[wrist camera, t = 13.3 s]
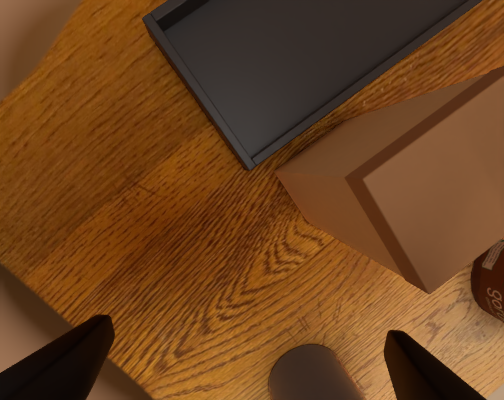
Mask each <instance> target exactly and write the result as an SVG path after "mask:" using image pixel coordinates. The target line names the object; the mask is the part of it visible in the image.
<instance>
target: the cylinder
mask: <svg viewBox="0 0 504 400" xmlns="http://www.w3.org/2000/svg"><path fill="white" fill-rule="evenodd" d="M268 390H269V395H270V399H271V400H366V398H365V397H364V395H363V394H362V392H361V391H360V389H359V388H358V386H357V385H356V383H355V382H354V380H353V379H352V377H351V376H350V374H349V373H348V371H347V370H346V368H345V367H344V365H343V364H342V362H341V361H340V359H339V358H338V356H337V355H336V354H335V353H334V352H333V351H331V350H330V349H328V348H326V347H324V346H321V345H315V344H310V345H303V346H299V347H297V348H294V349H292V350H290V351H289V352H287V353H286V354H285V355H283V356H282V357H281V358H280V359H279V360H278V362H277V363H276V364H275V366H274V368H273V369H272V372H271V374H270V377H269V383H268Z"/></svg>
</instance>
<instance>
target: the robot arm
mask: <svg viewBox="0 0 504 400" xmlns="http://www.w3.org/2000/svg"><path fill="white" fill-rule="evenodd" d="M114 338H115V332H114V328H113V323H112V319H111V317H110V316H109V315H100V314H99V315H95V316H94V317H92V318H90V319H89V320H87V321H85V322H84V323H82V324H80V325H79V326H77V327H75V328H74V329H72V330H71V331H69V332H67V333H66V334H64V335H62V336H61V337H59V338H57V339H56V340H54V341H52V342H51V343H49V344H47V345H46V346H44V347H42V348H41V349H39V350H38V351H36V352H34V353H32V354H31V355H29V356H27V357H26V358H24V359H23V360H21V361H19V362H18V363H16V364H14V365H12V366H11V367H9V368H8V369H6V370H4V371H3V372H1V373H0V400H86V398H87V396H88V395H89V393H90V391H91V389H92V387H93V385H94V383H95V381H96V378H97V376H98V374H99V372H100V370H101V367H102V365H103V363H104V361H105V359H106V357H107V355H108V352H109V350H110V348H111V346H112V344H113V341H114ZM384 358H385V361H386V364H387V368H388V371H389V374H390V378H391V381H392V384H393V388H394V391H395V394H396V398H397V400H486V399H485V398H484V397H483V396H482V395H480V394H479V393H478V392H477V391H476V390H474V389H473V388H472V387H471V386H470V385H468V384H467V383H466V382H465V381H463V380H462V379H461V378H460V377H459V376H457V375H456V374H455V373H454V372H453V371H451V370H450V369H449V368H448V367H446V366H445V365H444V364H443V363H442V362H440V361H439V360H438V359H437V358H436V357H434V356H433V355H432V354H431V353H430V352H428V351H427V350H426V349H425V348H423V347H422V346H421V345H420V344H419V343H417V342H416V341H415V340H414V339H413V338H411V337H410V336H409V335H408V334H407V333H405V332H404V331H400V330H389V331H388V333H387V337H386V342H385V346H384Z"/></svg>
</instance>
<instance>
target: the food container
mask: <svg viewBox="0 0 504 400" xmlns="http://www.w3.org/2000/svg"><path fill="white" fill-rule="evenodd" d="M471 286H472V293H473V295H474V298H475V301H476V302H477V304H478V305H479V306H480V307H481V308H482V309H483V310H484V311H486V312H488V313H489V314H491V315H492V316H494V317H496V318H497V319H499V320H501V321H502V322H504V240H502V239H501V240H499V241H498V242H497V243H495V244H494V245H493V246H492V247H490V248H489V249H488V250H486V251H485V252H484V253H483V254H481V255H480V256H479V257H477V258H476V260H475V262H474V266H473V270H472V274H471Z"/></svg>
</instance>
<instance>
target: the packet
mask: <svg viewBox="0 0 504 400" xmlns="http://www.w3.org/2000/svg"><path fill="white" fill-rule="evenodd" d="M274 172H275V174H276V175H277V177H278V178H279V180H280V181H281V183H282V185H283V186H284V188H285V189H286V191H287V192H288V194H289V195H290V197H291V198H292V200H293V201H294V203H295V204H296V206H297V207H298V209H299V210H300V212H301V213H302V215H303V216H304V218H305V219H306V221H307V222H309V223H310V224H312V225H314V226H316V227H317V228H319V229H321V230H323V231H324V232H326V233H328V234H329V235H331V236H333V237H335V238H336V239H338V240H340V241H342V242H343V243H345V244H347V245H348V246H350V247H352V248H354V249H355V250H357V251H359V252H361V253H362V254H364V255H366V256H367V257H369V258H371V259H373V260H374V261H376V262H378V263H380V264H381V265H383V266H385V267H386V268H388V269H390V270H392V271H393V272H395V273H397V274H399V275H400V276H402V277H404V279H405V280H406V281H407V282H409V283H411V284H412V285H414V286H416V287H418V288H419V289H421V290H423V291H424V292H426V293H428V294H431V293H432V292H434V291H435V290H436V289H437V288H439V287H440V286H441V285H443V284H444V283H445V282H446V281H448V280H449V279H450V278H452V277H453V276H454V275H456V274H457V273H458V272H459V271H461V270H462V269H463V268H465V267H466V266H467V265H468V264H470V263H471V262H472V261H474V260H475V259H476V258H477V257H479V256H480V255H481V254H483V253H484V252H485V251H486V250H488V249H489V248H490V247H492V246H493V245H494V244H495V243H497V242H498V241H499V240H501V239H502V238H503V237H504V66H503V67H500V68H497V69H494V70H491V71H490V72H489V73H487V74H484V75H481V76H478V77H475V78H472V79H469V80H466V81H463V82H460V83H457V84H454V85H451V86H448V87H445V88H442V89H439V90H436V91H433V92H430V93H427V94H424V95H421V96H418V97H415V98H412V99H409V100H406V101H403V102H400V103H397V104H394V105H391V106H388V107H385V108H382V109H379V110H376V111H372V112H369V113H366V114H363V115H360V116H357V117H354V118H351V119H348V120H345V121H344V122H342V123H341V124H339V125H338V126H337V127H335V128H334V129H332V130H331V131H330V132H328V133H327V134H325V135H324V136H322V137H321V138H320V139H318V140H317V141H315V142H314V143H313V144H311V145H310V146H308V147H307V148H306V149H304V150H303V151H301V152H300V153H299V154H297V155H296V156H294V157H293V158H292V159H290V160H289V161H287V162H286V163H285V164H283V165H282V166H280V167H279V168H278V169H276V170H275V171H274Z"/></svg>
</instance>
